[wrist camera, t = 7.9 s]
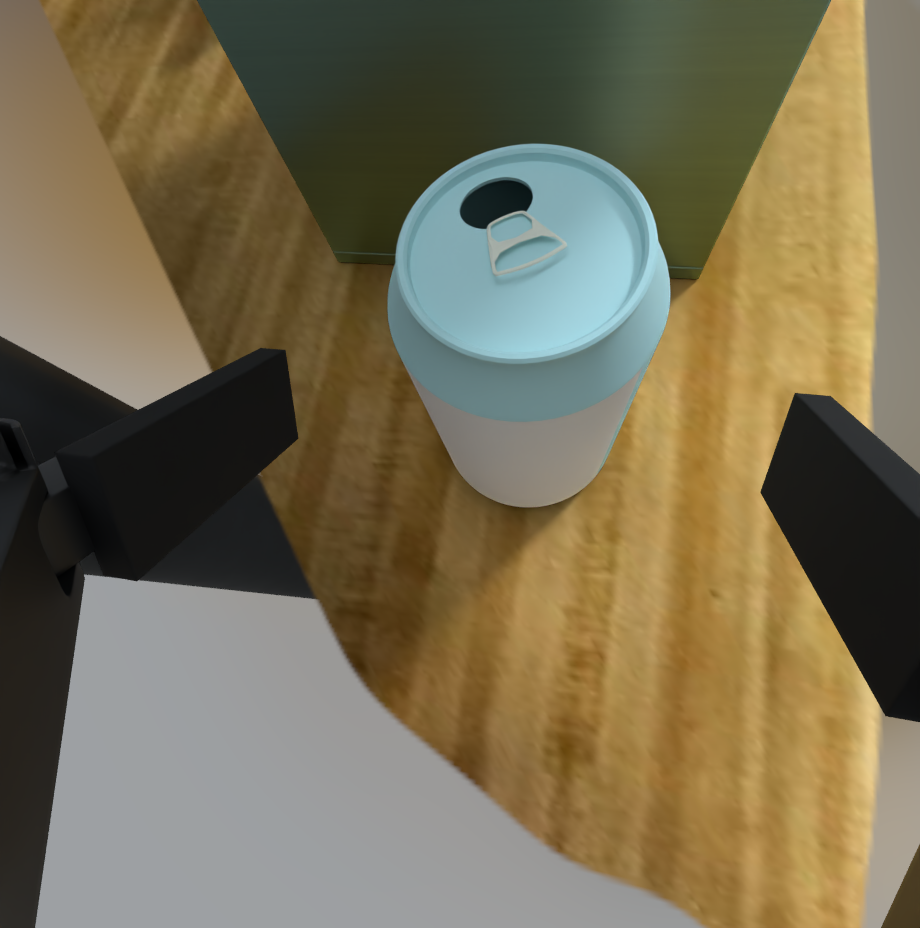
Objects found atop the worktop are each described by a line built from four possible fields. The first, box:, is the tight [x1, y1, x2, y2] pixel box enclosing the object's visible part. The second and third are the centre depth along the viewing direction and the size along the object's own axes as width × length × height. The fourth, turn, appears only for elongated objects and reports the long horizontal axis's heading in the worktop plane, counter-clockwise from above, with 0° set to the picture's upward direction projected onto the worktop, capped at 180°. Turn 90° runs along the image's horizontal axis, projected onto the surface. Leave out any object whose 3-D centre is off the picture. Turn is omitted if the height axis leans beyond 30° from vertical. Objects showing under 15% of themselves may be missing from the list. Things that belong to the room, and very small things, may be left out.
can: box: [388, 144, 670, 507], centre depth 17 cm, size 7×7×12 cm
